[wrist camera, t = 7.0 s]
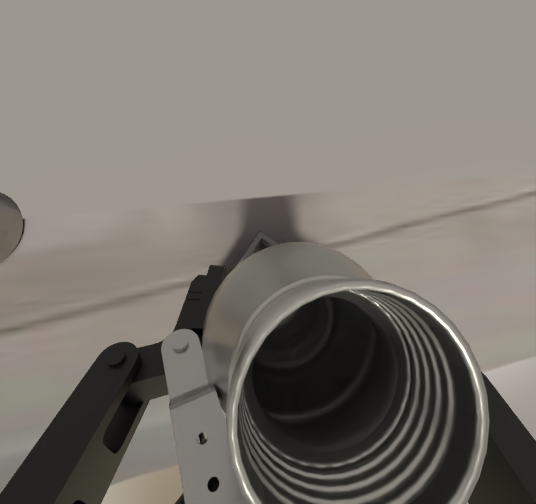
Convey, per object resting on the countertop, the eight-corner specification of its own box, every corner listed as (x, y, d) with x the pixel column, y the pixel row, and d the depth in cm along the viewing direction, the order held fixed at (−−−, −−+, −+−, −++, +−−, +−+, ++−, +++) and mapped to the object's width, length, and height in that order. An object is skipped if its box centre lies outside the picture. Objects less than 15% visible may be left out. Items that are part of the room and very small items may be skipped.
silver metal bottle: (322, 293, 23) (677, 360, 4) (277, 353, 23) (414, 853, 3) (268, 250, 24) (323, 91, 4) (222, 307, 23) (-6, 474, 3)
